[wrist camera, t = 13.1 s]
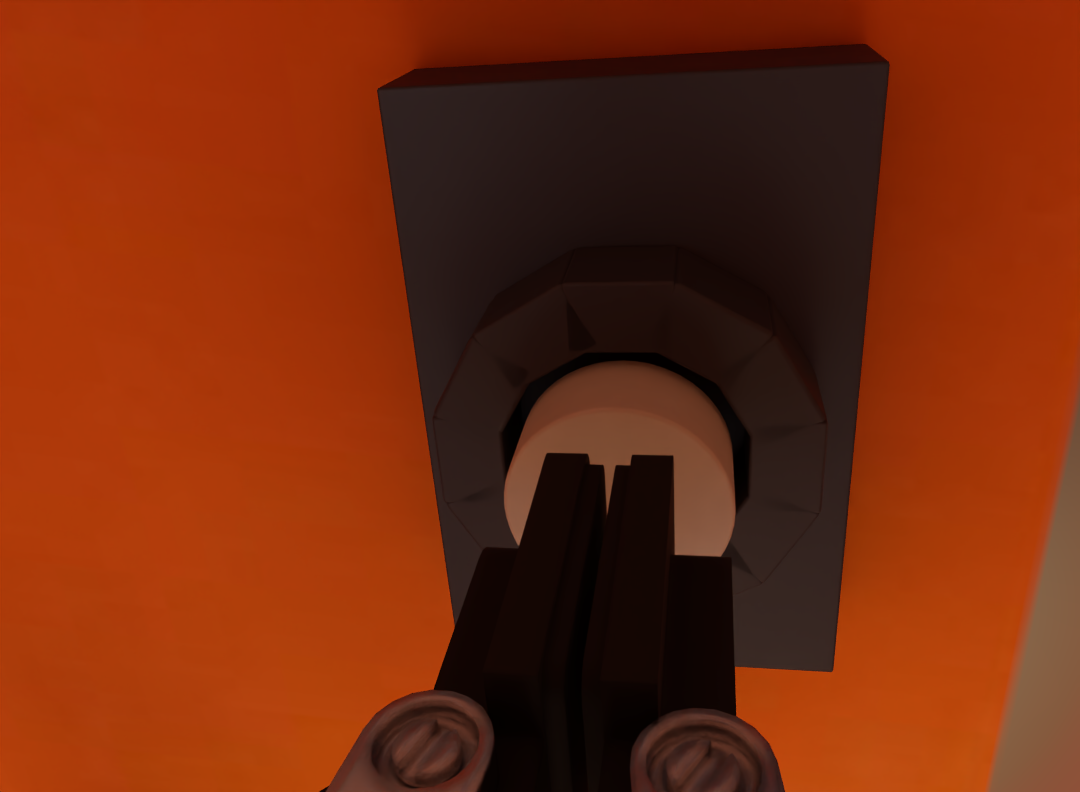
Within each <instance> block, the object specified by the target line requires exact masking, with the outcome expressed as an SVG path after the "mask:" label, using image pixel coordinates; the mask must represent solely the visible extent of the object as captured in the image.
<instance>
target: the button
mask: <svg viewBox="0 0 1080 792" xmlns="http://www.w3.org/2000/svg"><path fill="white" fill-rule="evenodd" d="M547 453H587V454H588V455H589V460H590V464H596V465H604V470H605V486H606V506H607V513H608V507H609V501H610V495H611V489H612V483H613V477H614V471H615V466H616V465H630V463H631V457H632V455H673V457H674V525H675V555H695V556H719V557H721V555H722V554H723V552H724V551H725V549H726V547H727V545H728V543H729V540H730V538H731V535H732V532H733V528H734V523H735V514H736V508H735V489H734V469H733V450H732V442H731V437H730V433H729V431H728V428H727V425H726V422H725V420H724V419H723V417H722V415H721V413H720V411H719V410H718V408H717V407H716V406H715V404H714V403H713V402H712V400H711V399H710V398H709V397H708V396H707V395H706V394H705V393H704V392H703V391H702V390H701V389H699V388H698V387H697V386H696V385H694V384H693V383H692V382H691V381H689V380H687V379H686V378H684V377H682V376H680V375H679V374H677V373H675V372H672V371H670V370H668V369H666V368H663V367H660V366H656V365H653V364H649V363H644V362H638V361H625V360H620V361H606V362H601V363H595V364H591V365H588V366H585V367H582V368H579V369H577V370H575V371H573V372H570V373H568V374H567V375H565V376H563V377H562V378H560V379H559V380H557V381H556V382H555V383H553V384H552V385H551V386H550V387H549V388H547V389H546V390H545V391H544V393H543V394H542V395H541V396H540V397H539V398H538V400H537V401H536V403H535V404H534V406H533V407H532V409H531V411H530V413H529V415H528V417H527V419H526V422H525V425H524V428H523V431H522V433H521V436H520V439H519V442H518V445H517V447H516V450H515V453H514V456H513V459H512V461H511V464H510V467H509V470H508V474H507V477H506V481H505V488H504V507H505V512H506V518H507V521H508V524H509V527H510V530H511V532H512V534H513V536H514V538H515V540H516V542H517V544H518V545H519V544H520V541H521V538H522V534H523V531H524V527H525V524H526V520H527V517H528V514H529V510H530V507H531V503H532V500H533V496H534V493H535V489H536V486H537V483H538V479H539V476H540V472H541V469H542V465H543V462H544V459H545V456H546V454H547Z"/></svg>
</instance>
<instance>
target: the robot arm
mask: <svg viewBox="0 0 1080 792" xmlns="http://www.w3.org/2000/svg"><path fill="white" fill-rule="evenodd" d="M319 792H785V790H784V786H783V782H782V778H781V774H780V770H779V766H778V763H777V760H776V758H775V756H774V753H773V751H772V749H771V747H770V745H769V743H768V742H767V741H766V740H765V738H764V737H763V736H762V735H761V734H760V733H759V732H758V731H757V730H756V729H755V728H754V727H753V726H751V725H750V724H748V723H746V722H745V721H743V720H741V719H740V718H738V717H737V716H736V694H735V659H734V624H733V589H732V560H731V557H719V556H695V555H675V525H674V457H673V455H632V457H631V463H630V465H616V466H615V471H614V477H613V483H612V489H611V495H610V501H609V507H608V513H607V506H606V486H605V470H604V465H596V464H590V460H589V455H588V454H587V453H547V454H546V456H545V459H544V462H543V465H542V469H541V472H540V476H539V479H538V483H537V486H536V489H535V493H534V496H533V500H532V503H531V507H530V510H529V514H528V517H527V520H526V524H525V527H524V531H523V534H522V538H521V541H520V544H519V548H497V547H486V548H484V549H483V550H482V552H481V555H480V557H479V559H478V562H477V565H476V568H475V571H474V574H473V577H472V580H471V582H470V585H469V588H468V591H467V594H466V597H465V600H464V603H463V606H462V609H461V611H460V614H459V617H458V620H457V623H456V626H455V629H454V632H453V635H452V637H451V640H450V643H449V646H448V649H447V652H446V655H445V658H444V661H443V664H442V666H441V669H440V672H439V675H438V678H437V681H436V684H435V687H434V690H428V691H423V692H417V693H412V694H409V695H407V696H404V697H402V698H400V699H397V700H395V701H393V702H391V703H390V704H388V705H387V706H386V707H384V708H383V709H382V710H380V711H379V712H377V713H376V714H375V715H374V717H373V718H372V719H371V720H370V721H369V723H368V724H367V725H366V726H365V728H364V729H363V730H362V732H361V734H360V735H359V737H358V739H357V740H356V742H355V744H354V745H353V747H352V749H351V750H350V752H349V754H348V755H347V757H346V759H345V760H344V762H343V764H342V765H341V767H340V769H339V770H338V772H337V774H336V775H335V777H334V779H333V780H332V782H331V784H330V785H329V786H328V787H326V788H325V789H323V790H321V791H319Z"/></svg>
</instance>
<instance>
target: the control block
mask: <svg viewBox="0 0 1080 792" xmlns="http://www.w3.org/2000/svg"><path fill="white" fill-rule="evenodd" d="M889 66H890V64H889V62H888V61H887V60H886V59H884V58H883V57H882V56H881V55H879V54H878V53H877V52H876V51H874V50H873V49H872V48H870V47H869V46H868V45H866V44H856V45H838V46H821V47H803V48H785V49H767V50H749V51H731V52H713V53H695V54H677V55H659V56H641V57H623V58H605V59H587V60H569V61H551V62H533V63H515V64H497V65H479V66H461V67H443V68H425V69H414V70H412V71H410V72H408V73H407V74H405V75H403V76H401V77H399V78H397V79H395V80H393V81H391V82H389V83H387V84H386V85H384V86H382V87H380V88H378V90H377V93H378V100H379V107H380V113H381V120H382V127H383V134H384V141H385V148H386V155H387V162H388V169H389V175H390V182H391V189H392V196H393V203H394V210H395V217H396V224H397V231H398V238H399V244H400V251H401V258H402V265H403V272H404V279H405V286H406V293H407V300H408V306H409V313H410V320H411V327H412V334H413V341H414V348H415V355H416V362H417V369H418V375H419V382H420V389H421V396H422V403H423V410H424V417H425V424H426V431H427V438H428V444H429V451H430V458H431V465H432V472H433V479H434V486H435V493H436V500H437V506H438V513H439V520H440V527H441V534H442V541H443V548H444V555H445V562H446V569H447V575H448V582H449V589H450V596H451V603H452V610H453V617H454V624H455V626H456V623H457V620H458V617H459V614H460V611H461V609H462V606H463V603H464V600H465V597H466V594H467V591H468V588H469V585H470V582H471V580H472V577H473V574H474V571H475V568H476V565H477V562H478V559H479V557H480V555H481V552H482V550H483V549H484V548H486V547H497V548H519V545H518V544H517V542H516V540H515V538H514V536H513V534H512V532H511V530H510V527H509V524H508V521H507V518H506V512H505V507H504V488H505V481H506V477H507V474H508V470H509V467H510V464H511V461H512V459H513V456H514V453H515V450H516V447H517V445H518V442H519V439H520V436H521V433H522V431H523V428H524V425H525V422H526V419H527V417H528V415H529V413H530V411H531V409H532V407H533V406H534V404H535V403H536V401H537V400H538V398H539V397H540V396H541V395H542V394H543V393H544V391H545V390H546V389H547V388H549V387H550V386H551V385H552V384H553V383H555V382H556V381H557V380H559V379H560V378H562V377H563V376H565V375H567V374H568V373H570V372H573V371H575V370H577V369H579V368H582V367H585V366H588V365H591V364H595V363H601V362H606V361H620V360H625V361H638V362H644V363H649V364H653V365H656V366H660V367H663V368H666V369H668V370H670V371H672V372H675V373H677V374H679V375H680V376H682V377H684V378H686V379H687V380H689V381H691V382H692V383H693V384H694V385H696V386H697V387H698V388H699V389H701V390H702V391H703V392H704V393H705V394H706V395H707V396H708V397H709V398H710V399H711V400H712V402H713V403H714V404H715V406H716V407H717V408H718V410H719V411H720V413H721V415H722V417H723V419H724V420H725V422H726V425H727V428H728V431H729V433H730V437H731V442H732V450H733V469H734V489H735V508H736V514H735V523H734V528H733V532H732V535H731V538H730V540H729V543H728V545H727V547H726V549H725V551H724V552H723V554H722V555H721V557H731V560H732V589H733V624H734V659H735V667H753V668H770V669H788V670H806V671H823V672H832V671H833V666H834V656H835V645H836V634H837V623H838V613H839V602H840V591H841V581H842V570H843V559H844V548H845V538H846V527H847V516H848V506H849V495H850V484H851V473H852V463H853V452H854V441H855V430H856V420H857V409H858V398H859V388H860V377H861V366H862V355H863V345H864V334H865V323H866V312H867V302H868V291H869V280H870V270H871V259H872V248H873V237H874V227H875V216H876V205H877V194H878V184H879V173H880V162H881V152H882V141H883V130H884V119H885V109H886V98H887V87H888V76H889Z"/></svg>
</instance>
